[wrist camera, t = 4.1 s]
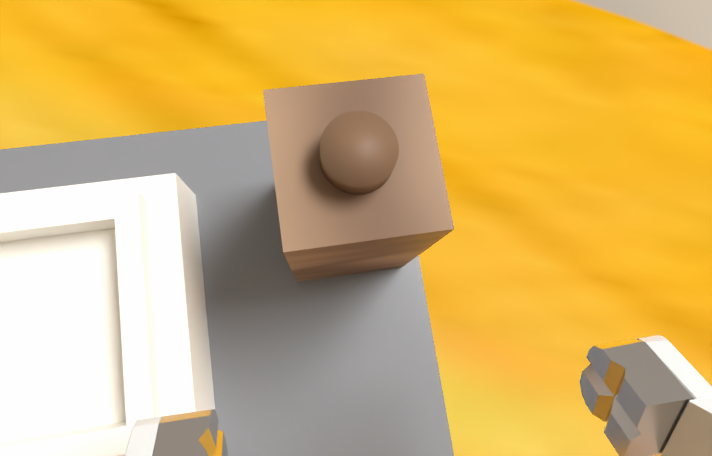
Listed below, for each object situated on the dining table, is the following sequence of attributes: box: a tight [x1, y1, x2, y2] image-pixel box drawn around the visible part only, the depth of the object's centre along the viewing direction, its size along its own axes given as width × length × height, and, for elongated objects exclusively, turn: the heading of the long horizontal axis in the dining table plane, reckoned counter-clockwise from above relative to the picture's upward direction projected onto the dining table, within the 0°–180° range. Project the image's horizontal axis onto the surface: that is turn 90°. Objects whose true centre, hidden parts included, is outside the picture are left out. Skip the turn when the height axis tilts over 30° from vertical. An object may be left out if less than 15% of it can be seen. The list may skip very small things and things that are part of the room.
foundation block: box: [0, 173, 215, 456], centre depth 17 cm, size 10×10×4 cm
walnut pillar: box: [263, 74, 454, 282], centre depth 17 cm, size 4×4×9 cm
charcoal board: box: [0, 121, 454, 456], centre depth 20 cm, size 20×16×1 cm
